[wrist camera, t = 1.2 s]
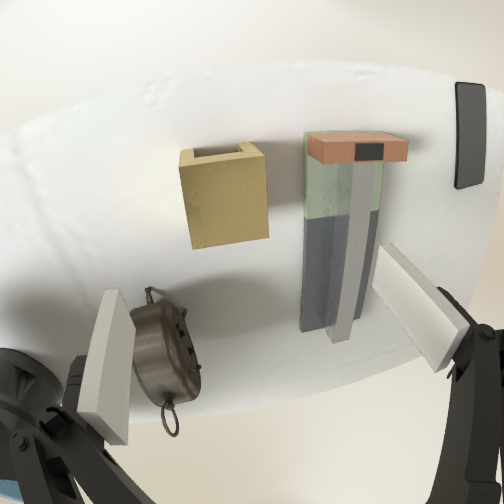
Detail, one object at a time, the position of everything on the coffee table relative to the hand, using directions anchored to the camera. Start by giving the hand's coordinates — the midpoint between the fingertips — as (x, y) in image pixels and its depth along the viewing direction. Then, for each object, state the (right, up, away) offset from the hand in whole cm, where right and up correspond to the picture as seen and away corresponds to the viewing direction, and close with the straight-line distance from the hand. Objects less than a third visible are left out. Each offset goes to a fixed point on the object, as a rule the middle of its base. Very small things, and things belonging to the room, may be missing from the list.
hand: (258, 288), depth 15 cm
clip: (-3, +8, +14) cm, 17 cm away
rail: (+10, +3, +20) cm, 23 cm away
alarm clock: (-10, -5, +21) cm, 24 cm away
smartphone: (+29, +18, +17) cm, 38 cm away
